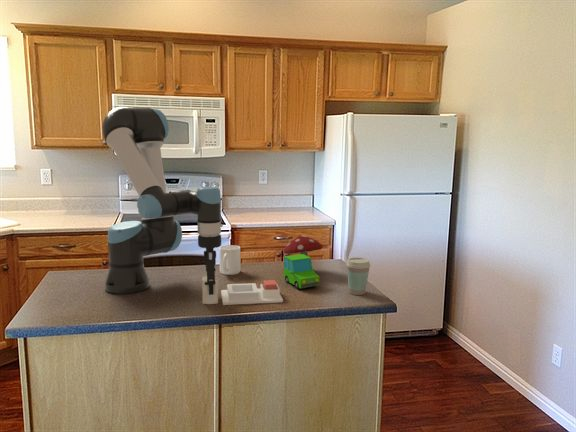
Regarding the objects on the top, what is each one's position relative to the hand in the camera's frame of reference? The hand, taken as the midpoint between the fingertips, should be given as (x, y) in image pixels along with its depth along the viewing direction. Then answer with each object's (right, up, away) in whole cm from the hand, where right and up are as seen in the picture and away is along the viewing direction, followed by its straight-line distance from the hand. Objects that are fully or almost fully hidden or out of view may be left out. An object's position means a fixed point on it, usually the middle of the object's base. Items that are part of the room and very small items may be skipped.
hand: (210, 296), depth 164 cm
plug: (0, -1, 0) cm, 2 cm away
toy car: (+31, +1, +19) cm, 36 cm away
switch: (+20, +2, +6) cm, 20 cm away
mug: (+2, +4, +32) cm, 32 cm away
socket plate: (+13, -1, +5) cm, 14 cm away
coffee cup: (+51, -1, +12) cm, 52 cm away
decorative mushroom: (+32, +4, +36) cm, 48 cm away
